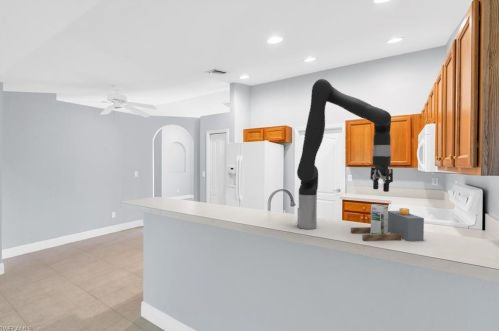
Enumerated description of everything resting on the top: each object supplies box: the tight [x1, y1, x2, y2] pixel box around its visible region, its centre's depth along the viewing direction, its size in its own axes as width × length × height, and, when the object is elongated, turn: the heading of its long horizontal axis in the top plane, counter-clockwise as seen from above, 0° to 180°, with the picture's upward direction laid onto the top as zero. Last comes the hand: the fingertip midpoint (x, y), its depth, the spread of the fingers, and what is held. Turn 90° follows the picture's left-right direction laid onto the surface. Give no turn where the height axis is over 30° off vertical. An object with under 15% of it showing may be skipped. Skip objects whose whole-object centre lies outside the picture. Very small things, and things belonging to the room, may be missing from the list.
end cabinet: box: [388, 210, 425, 242], centre depth 124 cm, size 7×16×10 cm, turn 4°
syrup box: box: [370, 203, 389, 234], centre depth 123 cm, size 6×6×14 cm
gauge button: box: [398, 207, 410, 216], centre depth 123 cm, size 4×4×4 cm
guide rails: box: [350, 226, 402, 242], centre depth 123 cm, size 17×13×2 cm
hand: (380, 190), depth 122 cm, fingers open, 8 cm apart
